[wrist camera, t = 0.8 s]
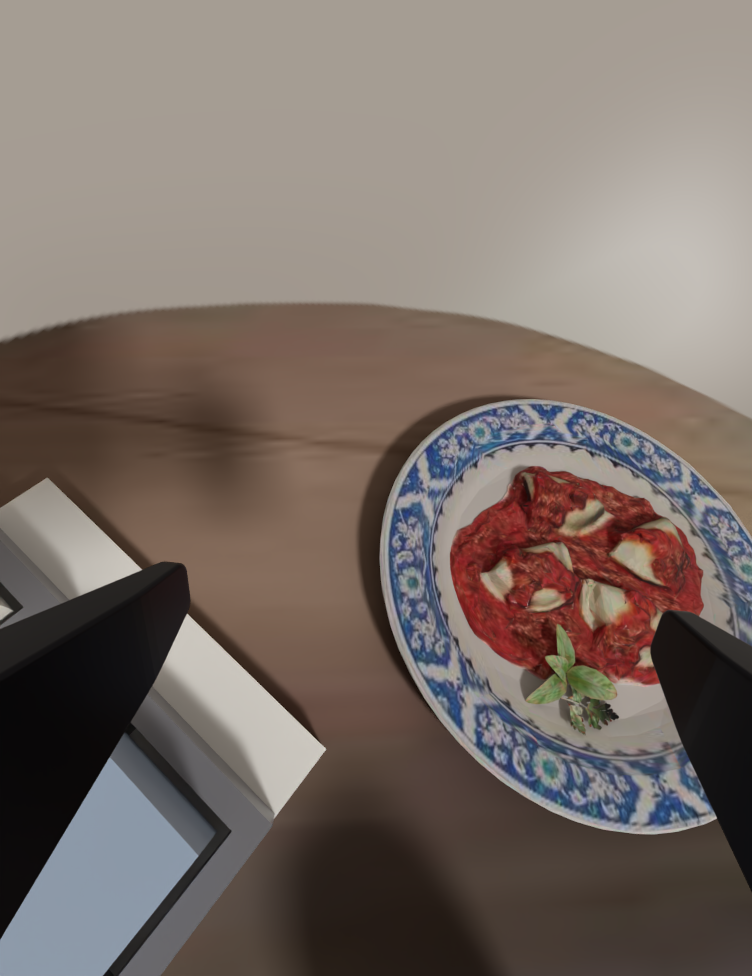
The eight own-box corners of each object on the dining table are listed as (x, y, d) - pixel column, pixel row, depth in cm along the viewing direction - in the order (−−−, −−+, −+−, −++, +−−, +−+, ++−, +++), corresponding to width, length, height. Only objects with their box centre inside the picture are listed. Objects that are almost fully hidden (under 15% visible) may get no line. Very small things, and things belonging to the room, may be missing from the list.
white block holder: (49, 1110, 16) (-41, 1250, 11) (-244, 702, 20) (-395, 692, 15) (323, 748, 22) (331, 750, 18) (63, 494, 26) (18, 446, 22)
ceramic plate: (485, 364, 37) (500, 336, 35) (785, 543, 34) (826, 527, 31) (283, 626, 25) (283, 614, 22) (722, 956, 21) (782, 986, 19)
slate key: (91, 987, 14) (29, 1067, 11) (-5, 864, 15) (-91, 901, 12) (216, 831, 17) (198, 855, 13) (126, 732, 18) (87, 731, 14)
